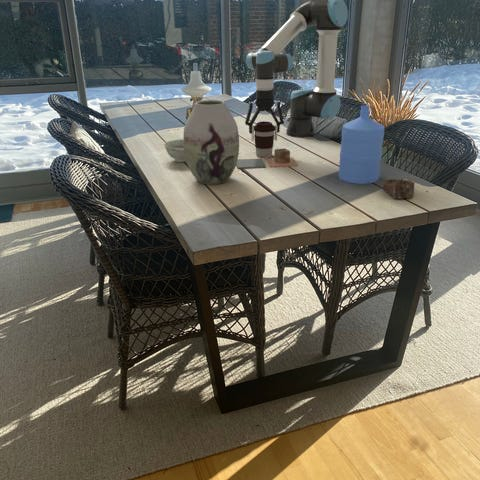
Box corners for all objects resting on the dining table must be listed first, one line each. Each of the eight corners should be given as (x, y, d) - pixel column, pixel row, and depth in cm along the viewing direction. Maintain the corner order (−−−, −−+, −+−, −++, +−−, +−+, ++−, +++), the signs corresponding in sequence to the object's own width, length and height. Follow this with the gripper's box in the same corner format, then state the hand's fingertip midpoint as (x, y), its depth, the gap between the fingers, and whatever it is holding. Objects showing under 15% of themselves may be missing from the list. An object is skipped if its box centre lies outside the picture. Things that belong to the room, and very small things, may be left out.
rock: (382, 189, 180) (384, 172, 177) (403, 189, 180) (406, 172, 178) (394, 200, 168) (396, 182, 166) (416, 200, 169) (419, 182, 166)
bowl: (206, 156, 223) (205, 140, 220) (191, 166, 210) (190, 149, 206) (174, 154, 228) (173, 138, 225) (158, 163, 214) (157, 146, 211)
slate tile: (261, 160, 217) (261, 158, 217) (265, 168, 206) (265, 166, 206) (234, 161, 216) (234, 159, 216) (237, 169, 205) (237, 167, 205)
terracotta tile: (292, 159, 218) (292, 157, 218) (298, 166, 208) (298, 165, 207) (266, 160, 217) (266, 158, 217) (270, 167, 207) (270, 166, 206)
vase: (198, 192, 180) (194, 109, 167) (177, 176, 197) (172, 100, 184) (249, 183, 189) (249, 103, 176) (225, 169, 206) (223, 95, 193)
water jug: (371, 188, 182) (379, 111, 171) (331, 181, 190) (337, 107, 178) (384, 176, 194) (392, 105, 182) (346, 170, 202) (352, 101, 190)
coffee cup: (273, 159, 218) (273, 125, 212) (251, 158, 220) (251, 124, 214) (276, 153, 227) (276, 120, 221) (255, 152, 229) (255, 120, 223)
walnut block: (284, 159, 215) (285, 148, 213) (289, 162, 211) (290, 151, 209) (274, 160, 214) (274, 149, 211) (279, 163, 209) (279, 152, 207)
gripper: (288, 87, 215) (287, 137, 225) (238, 88, 214) (238, 139, 223) (292, 89, 209) (290, 141, 218) (239, 91, 207) (240, 143, 216)
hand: (264, 140), depth 221 cm, fingers closed on coffee cup, 10 cm apart
